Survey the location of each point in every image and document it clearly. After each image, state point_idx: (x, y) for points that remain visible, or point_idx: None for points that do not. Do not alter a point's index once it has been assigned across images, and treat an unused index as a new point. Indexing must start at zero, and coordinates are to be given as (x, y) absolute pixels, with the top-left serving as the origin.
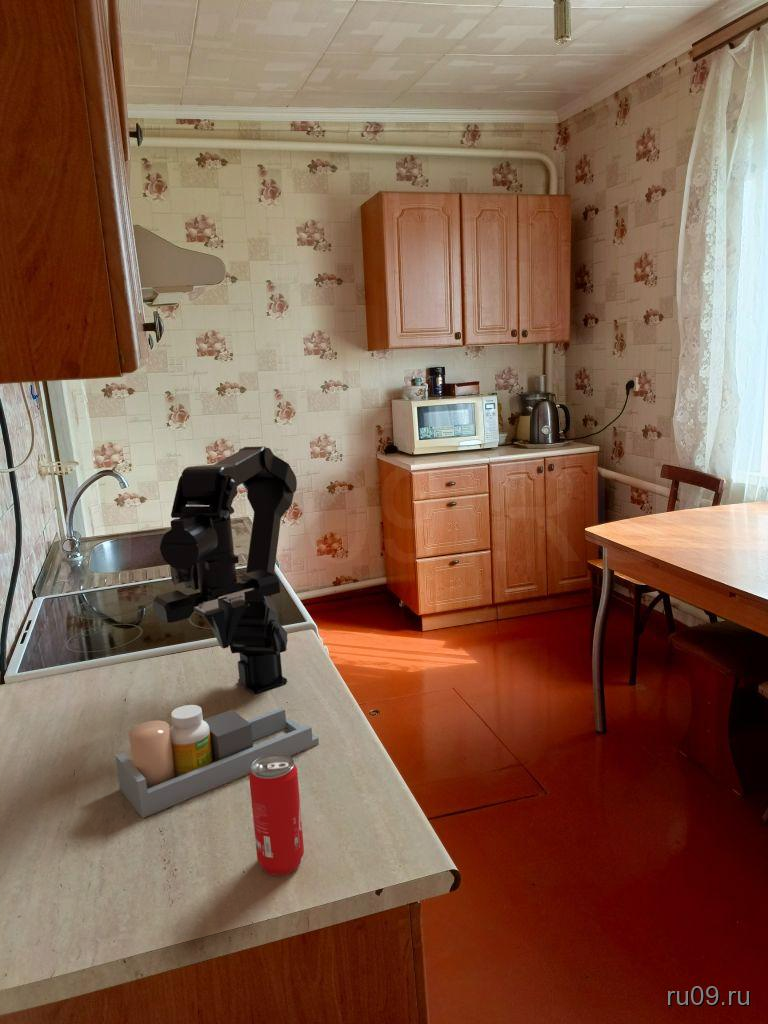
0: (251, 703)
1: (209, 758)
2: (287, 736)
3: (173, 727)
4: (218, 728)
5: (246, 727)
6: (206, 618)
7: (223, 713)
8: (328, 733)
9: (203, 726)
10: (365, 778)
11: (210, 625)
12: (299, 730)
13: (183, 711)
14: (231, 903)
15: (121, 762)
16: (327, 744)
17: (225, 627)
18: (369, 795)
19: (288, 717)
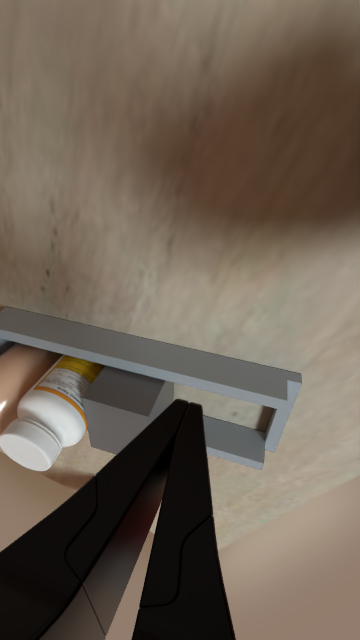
0: (331, 236)
1: None
2: (216, 454)
3: (21, 415)
4: (101, 434)
5: None
6: (18, 552)
7: (128, 413)
8: (313, 439)
9: (66, 445)
10: (249, 504)
11: (76, 500)
12: (242, 460)
13: (19, 450)
14: (72, 480)
15: None
16: (283, 450)
17: (130, 573)
18: (228, 512)
19: (300, 384)
